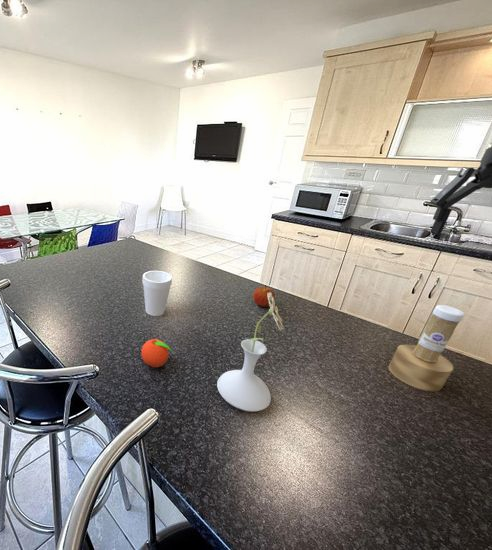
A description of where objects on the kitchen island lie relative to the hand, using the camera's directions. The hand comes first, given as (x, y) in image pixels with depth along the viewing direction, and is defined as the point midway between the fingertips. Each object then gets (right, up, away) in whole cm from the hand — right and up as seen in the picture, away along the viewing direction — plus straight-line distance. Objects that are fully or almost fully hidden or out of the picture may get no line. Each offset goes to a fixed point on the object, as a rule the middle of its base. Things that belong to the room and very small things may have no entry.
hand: (466, 235), depth 77 cm
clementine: (-81, -34, -1) cm, 88 cm away
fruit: (-41, -21, +28) cm, 54 cm away
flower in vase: (-62, -38, -9) cm, 73 cm away
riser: (-17, -36, -3) cm, 40 cm away
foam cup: (-79, -23, +23) cm, 86 cm away
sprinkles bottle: (-17, -30, -5) cm, 35 cm away
